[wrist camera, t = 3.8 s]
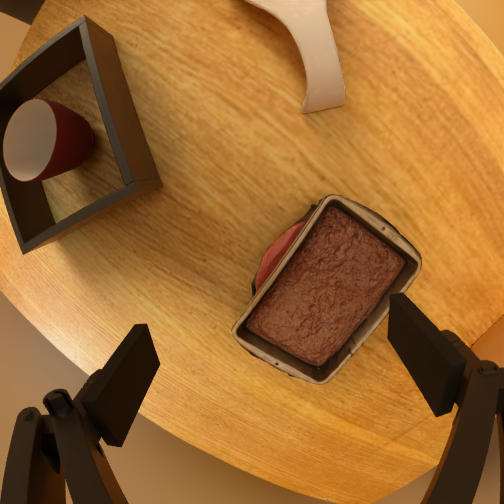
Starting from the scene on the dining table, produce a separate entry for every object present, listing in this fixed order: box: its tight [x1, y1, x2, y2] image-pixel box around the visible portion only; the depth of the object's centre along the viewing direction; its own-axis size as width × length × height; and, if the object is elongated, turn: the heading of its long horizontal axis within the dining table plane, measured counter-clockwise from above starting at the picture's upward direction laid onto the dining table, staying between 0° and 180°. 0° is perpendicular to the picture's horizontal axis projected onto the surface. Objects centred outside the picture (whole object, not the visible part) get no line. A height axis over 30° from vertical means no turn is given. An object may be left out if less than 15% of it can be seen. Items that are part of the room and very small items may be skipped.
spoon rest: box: [244, 0, 346, 113], centre depth 22 cm, size 24×12×7 cm, turn 18°
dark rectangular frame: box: [0, 15, 163, 255], centre depth 27 cm, size 21×17×7 cm
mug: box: [3, 98, 94, 182], centre depth 25 cm, size 10×8×10 cm
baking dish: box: [231, 194, 422, 385], centre depth 30 cm, size 14×18×10 cm
